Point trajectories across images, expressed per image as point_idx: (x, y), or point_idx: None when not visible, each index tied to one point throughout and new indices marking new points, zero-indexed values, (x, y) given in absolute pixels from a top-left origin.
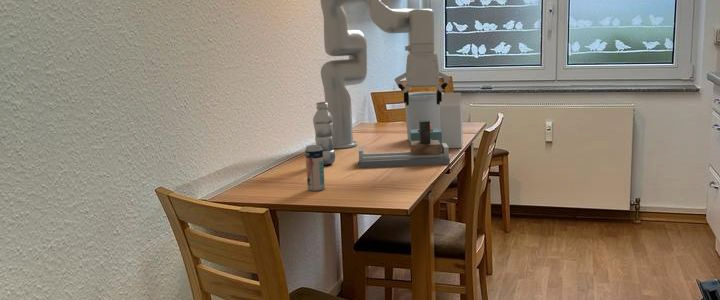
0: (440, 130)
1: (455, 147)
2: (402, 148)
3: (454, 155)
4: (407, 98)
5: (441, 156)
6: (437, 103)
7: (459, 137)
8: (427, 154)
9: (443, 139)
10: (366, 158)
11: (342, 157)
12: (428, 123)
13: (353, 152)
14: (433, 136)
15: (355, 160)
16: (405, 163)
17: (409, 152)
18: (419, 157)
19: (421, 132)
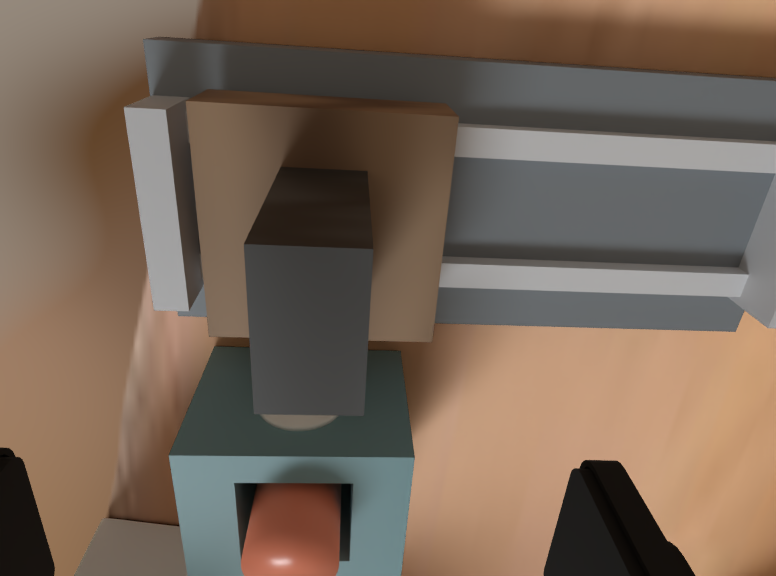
0: (178, 508)
1: (135, 523)
2: (415, 566)
3: (136, 342)
4: (661, 568)
5: None
6: (8, 462)
7: (86, 571)
8: None
9: None
10: (770, 144)
11: (762, 428)
12: (266, 235)
13: (666, 527)
14: (242, 431)
15: (729, 336)
16: (493, 60)
17: None
18: None
19: (359, 203)
